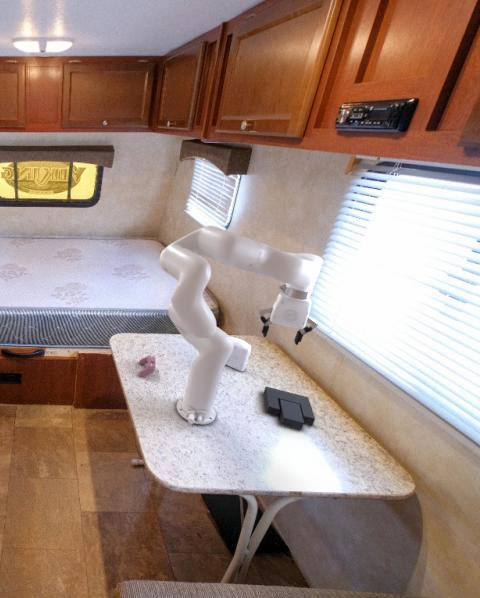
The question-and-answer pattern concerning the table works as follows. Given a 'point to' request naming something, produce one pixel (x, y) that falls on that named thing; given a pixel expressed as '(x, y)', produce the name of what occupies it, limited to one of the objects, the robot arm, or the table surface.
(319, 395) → the table surface
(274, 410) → the base pad
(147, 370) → the video game controller
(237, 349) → the photo printer
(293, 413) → the pad
